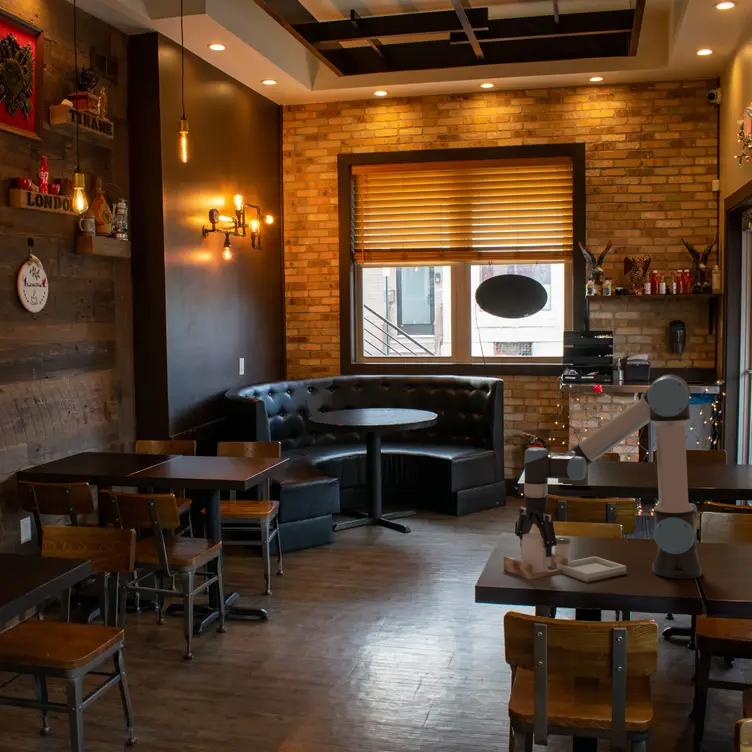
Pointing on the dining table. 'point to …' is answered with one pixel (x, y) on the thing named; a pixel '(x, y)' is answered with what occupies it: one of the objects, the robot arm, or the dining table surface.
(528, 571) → the oak caddy
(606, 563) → the tray
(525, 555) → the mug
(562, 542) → the salt jar
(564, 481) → the flask
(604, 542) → the dining table surface
